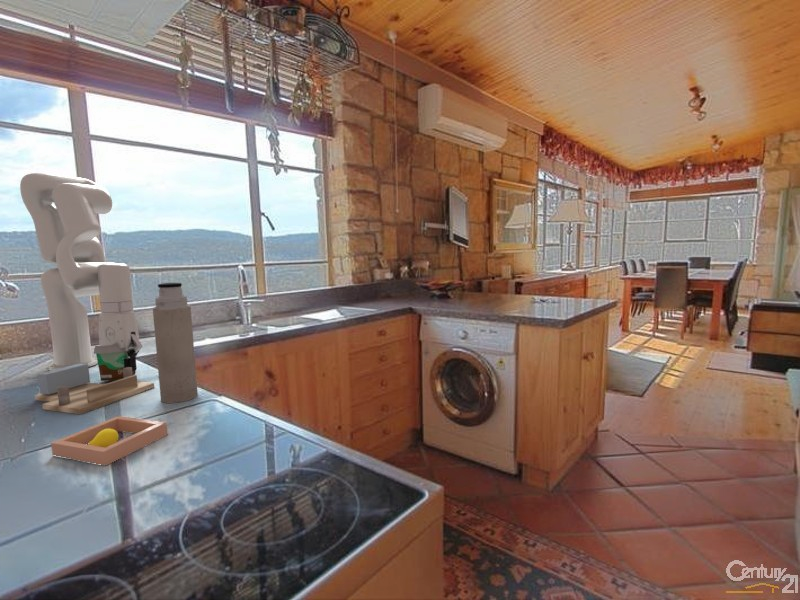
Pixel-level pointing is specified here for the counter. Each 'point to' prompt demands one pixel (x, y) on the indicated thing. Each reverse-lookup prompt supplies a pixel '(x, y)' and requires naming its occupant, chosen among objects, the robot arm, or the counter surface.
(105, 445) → the light bulb
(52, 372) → the block
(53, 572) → the counter surface
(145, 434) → the pink square frame
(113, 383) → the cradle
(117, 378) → the food container
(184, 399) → the thermos bottle
